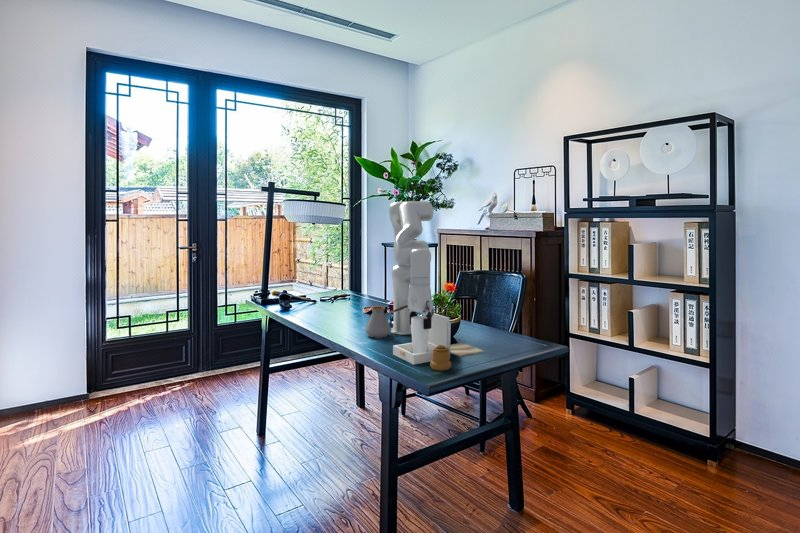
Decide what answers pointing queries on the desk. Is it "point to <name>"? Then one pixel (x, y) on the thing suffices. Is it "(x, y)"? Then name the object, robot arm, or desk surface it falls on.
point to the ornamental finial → (440, 359)
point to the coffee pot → (379, 322)
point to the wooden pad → (464, 349)
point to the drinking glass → (419, 335)
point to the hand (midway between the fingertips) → (420, 326)
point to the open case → (436, 337)
